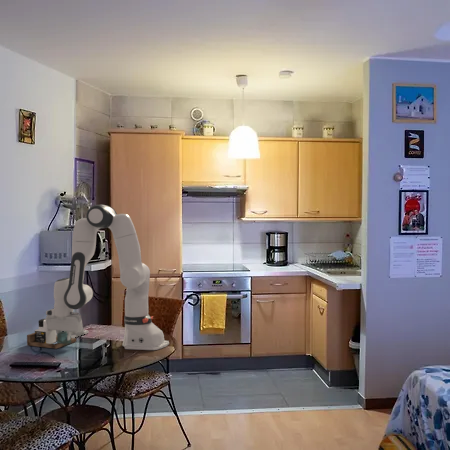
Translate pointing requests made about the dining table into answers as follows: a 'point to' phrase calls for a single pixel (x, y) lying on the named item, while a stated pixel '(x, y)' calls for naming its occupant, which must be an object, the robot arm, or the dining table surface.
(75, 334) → the broken sled
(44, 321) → the medicine bottle
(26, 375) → the dining table surface
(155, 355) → the dining table surface
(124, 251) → the robot arm
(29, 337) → the sled
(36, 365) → the dining table surface
